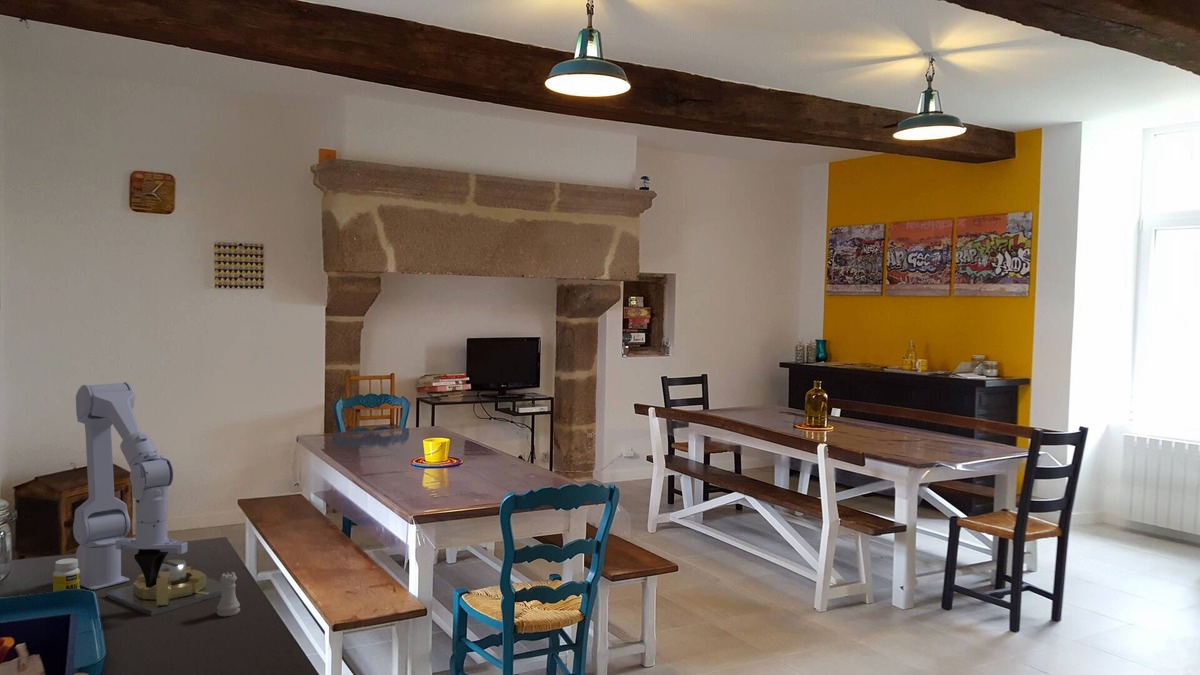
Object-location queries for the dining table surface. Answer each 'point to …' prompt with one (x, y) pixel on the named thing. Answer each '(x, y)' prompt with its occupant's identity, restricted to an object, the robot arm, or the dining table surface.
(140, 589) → the tan hexagonal frame
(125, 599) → the flange plate
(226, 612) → the rook chess piece
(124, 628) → the dining table surface
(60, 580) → the supplement bottle
